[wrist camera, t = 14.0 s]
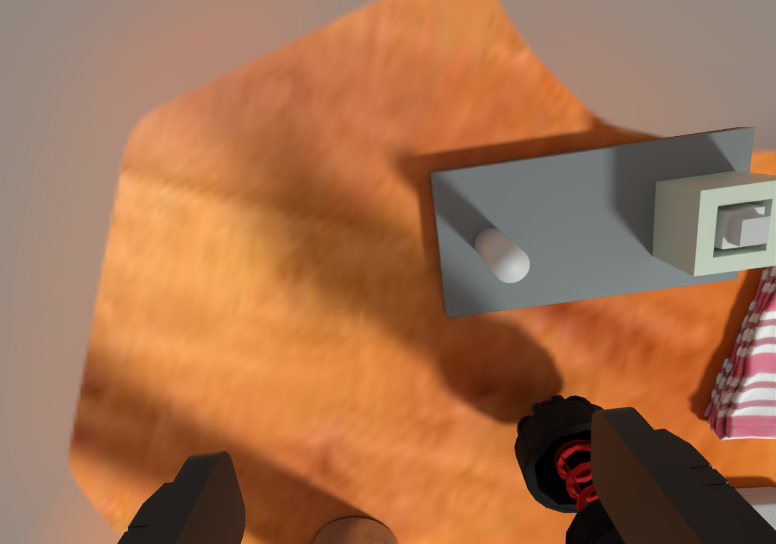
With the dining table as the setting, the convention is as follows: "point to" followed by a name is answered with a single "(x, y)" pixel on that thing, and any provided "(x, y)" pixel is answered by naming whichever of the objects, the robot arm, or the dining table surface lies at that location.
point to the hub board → (577, 222)
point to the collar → (710, 221)
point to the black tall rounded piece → (564, 466)
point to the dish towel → (749, 372)
